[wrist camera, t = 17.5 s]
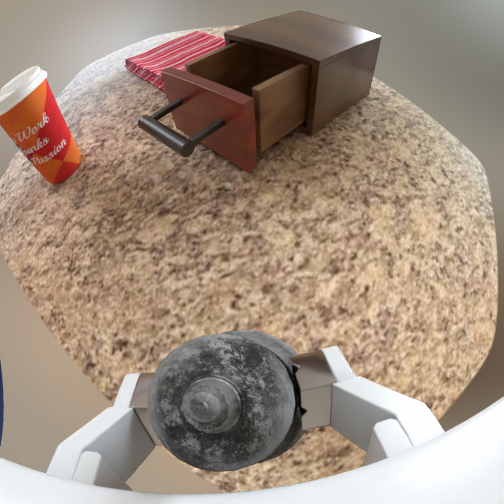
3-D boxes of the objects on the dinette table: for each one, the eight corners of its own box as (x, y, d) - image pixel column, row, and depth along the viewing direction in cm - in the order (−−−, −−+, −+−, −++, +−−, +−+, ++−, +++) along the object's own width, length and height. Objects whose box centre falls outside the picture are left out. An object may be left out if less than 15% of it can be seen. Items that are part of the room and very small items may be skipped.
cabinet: (311, 136, 30) (319, 61, 22) (230, 97, 34) (223, 32, 26) (369, 93, 35) (381, 36, 26) (298, 62, 39) (300, 10, 30)
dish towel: (190, 111, 33) (187, 94, 31) (123, 70, 42) (120, 59, 40) (286, 67, 38) (286, 53, 36) (199, 36, 47) (198, 26, 44)
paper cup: (34, 196, 29) (-25, 119, 17) (50, 154, 32) (5, 80, 20) (81, 182, 29) (23, 89, 17) (95, 139, 33) (54, 54, 20)
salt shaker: (170, 392, 14) (-7, 359, 4) (248, 321, 16) (219, 159, 5) (245, 469, 12) (205, 615, 1) (326, 395, 14) (476, 380, 3)
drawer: (209, 205, 25) (191, 137, 18) (141, 152, 29) (118, 95, 22) (328, 112, 31) (337, 56, 24) (256, 80, 35) (254, 30, 28)
